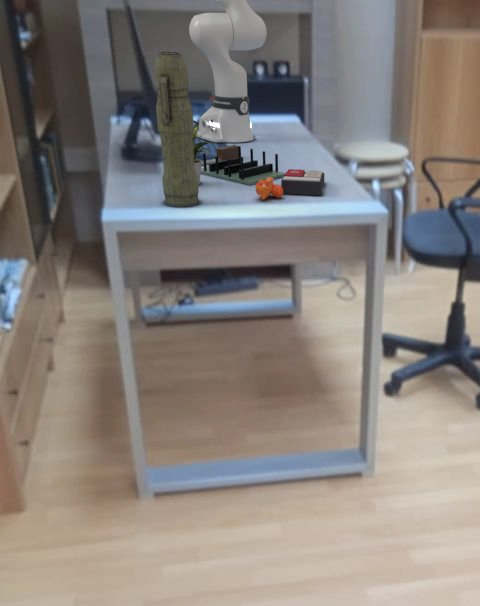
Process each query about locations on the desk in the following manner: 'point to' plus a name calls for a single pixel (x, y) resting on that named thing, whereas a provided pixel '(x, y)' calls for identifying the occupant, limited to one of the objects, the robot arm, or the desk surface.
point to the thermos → (176, 130)
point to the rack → (242, 169)
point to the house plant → (196, 150)
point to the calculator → (303, 182)
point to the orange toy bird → (268, 188)
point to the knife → (224, 154)
